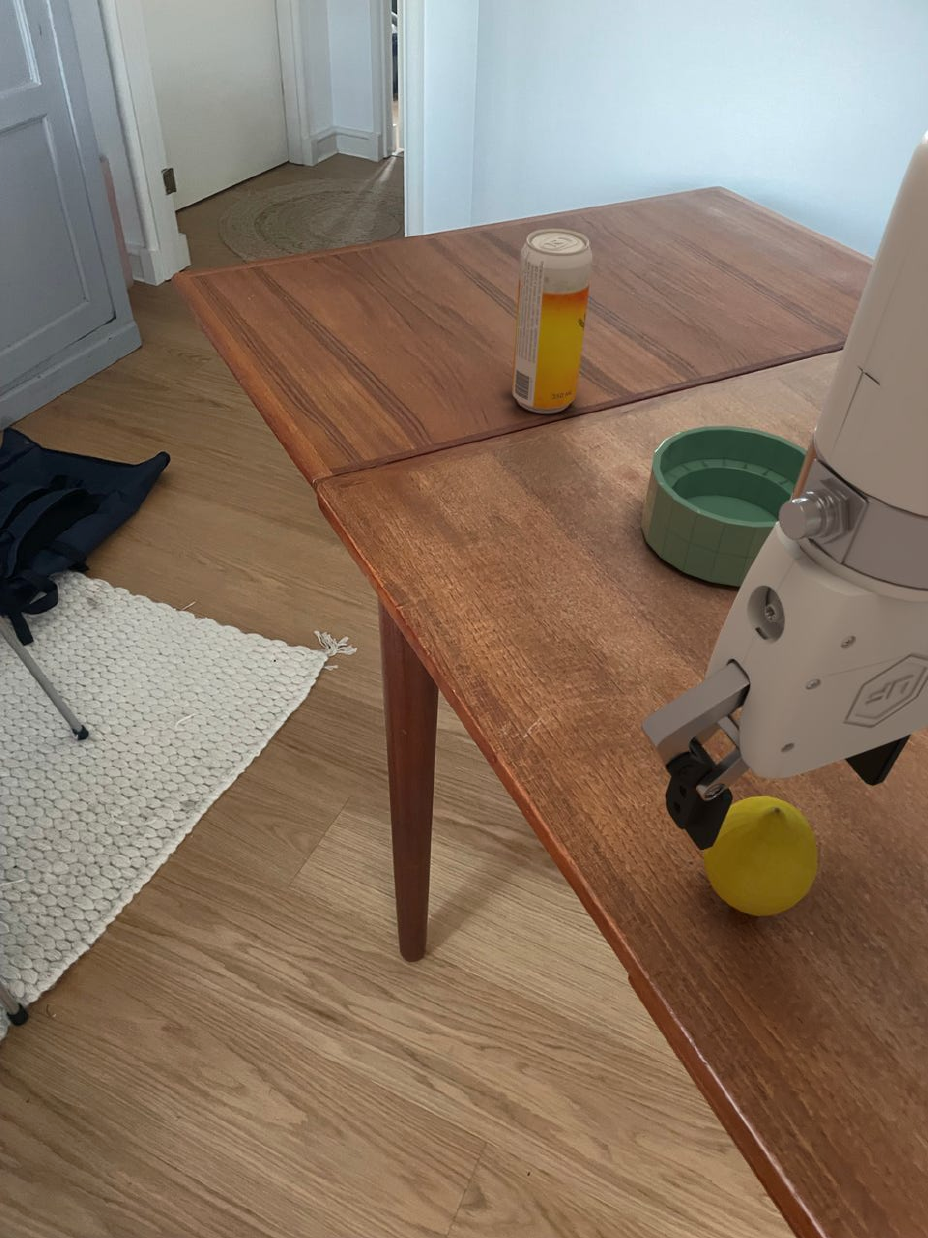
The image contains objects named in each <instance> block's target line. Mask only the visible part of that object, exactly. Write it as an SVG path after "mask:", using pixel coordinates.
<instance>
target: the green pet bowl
mask: <svg viewBox="0 0 928 1238" xmlns="http://www.w3.org/2000/svg"><path fill="white" fill-rule="evenodd" d="M806 452H807V449H806V448H804V447H802V446H801V445H799V444H796V443H795V442H792V441H790V440H788V439H787V438H785V437H782V436H779V435H776V434H774V433H771V432H767V431H763V430H760V429H755V428H748V427H742V426H735V425H704V426H700V427H694V428H690V429H687V430H682V431H680V432H678V433H675V434H674V435H672V436H669V437H668V438H666V439H664V440H663V441H662V443H661V444H660V445H659V446H658V448H657V449H656V450H654V452H653V456H652V462H651V466H650V472H649V477H648V481H647V486H646V487H647V488H646V493H645V498H644V504H643V509H642V514H641V520H640V521H641V522H640V527H641V531H642V533H643V535H644V539H645V541H646V543H647V544H648V545H649V547H651V549H652V550H653V551H654V552H655V553H656V555H658V557H660V558H661V560H664V561H665V562H667V563H668V564H670V565H672V566H673V567H674V568H676V569H678V570H679V571H681V572H683V573H685V574H687V575H689V576H692V577H696V578H698V579H701V580H703V581H706V582H710V583H715V584H720V585H727V586H732V587H733V586H734V587H739V588H741V586H742V584H743V582H744V580H745V578H746V576H747V574H748V572H749V570H750V568H751V566H752V564H753V563H754V561H755V559H756V557H757V555H758V554H759V552H760V550H761V548H762V546H763V545H764V543H765V541H766V540H767V538H768V536H769V535H770V533H771V531H772V530H773V528H774V526H775V525H776V523H777V522H778V521H779V510H780V508H781V506H782V505H783V504H784V503H785V502H787V501H790V498H791V495H792V493H793V489H794V487H795V484H796V481H797V478H798V475H799V472H800V469H801V467H802V464H803V461H804V458H805V455H806Z"/></svg>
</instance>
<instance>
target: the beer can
mask: <svg viewBox="0 0 928 1238" xmlns="http://www.w3.org/2000/svg"><path fill="white" fill-rule="evenodd" d="M593 257H594V255H593V252H592V249H591V246H590V240H589V238H588V237H587V236H585V235H584V234H582V233H580V232H577V231H574V230H570V229H563V228H545V229H539V230H535V231H533V232H531V233H529V234H528V236H527V237H526V241H525V243H524V245H523V246H522V248H521V250H520V261H519V273H518V275H519V276H518V289H517V290H518V291H517V292H518V293H517V304H516V306H517V307H516V320H515V337H514V351H513V364H512V365H513V367H512V368H513V369H512V382H511V393H512V396H513V398H514V399H515V400H516V401H517V403H518V405H519V406H521V408H522V409H525V410H527V411H530V412H532V413H538V414H556V413H560V412H562V411H564V410H565V409H567V408H568V407H569V406H570V404H571V403H573V402H574V401H575V399H577V398H576V397H577V393H578V384H579V376H580V375H579V374H580V367H581V361H582V360H581V359H582V351H583V350H582V349H583V341H584V333H585V326H586V325H585V324H586V316H587V308H588V301H589V300H588V299H589V292H590V283H591V275H592V274H591V273H592V266H593Z"/></svg>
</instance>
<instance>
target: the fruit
mask: <svg viewBox="0 0 928 1238" xmlns="http://www.w3.org/2000/svg"><path fill="white" fill-rule="evenodd" d="M816 840H817V839H816V835H815V833H814V831H813V829H812V827H811V825H810V823H809V821H808V819H807V817H806V816H804V814H803V813H802V812H801V811H800V810H799V809H798V808H797V807H795V806H793V804H791V803H790V802H787V801H785V800H782V799H781V798H778V797H774V796H769V795H755V796H749V797H746V798H743V799H740V800H737V801H736V802H734V803H731V805H730V808H729V810H728V812H727V815H726V817H725V820H724V822H723V825H722V827H721V829H720V832H719V834H718V837H717V839H716V842H715V843H714V845H713V847H710V848H708V849H705V850H703V853H702V855H703V869H704V871H705V874H706V876H707V878H708V881H709V884H710V885H711V887H712V888H713V890H714V891H715V892H716V894H717V895H718V896H719V897H720V898H721V899H722V901H724V902H725V903H726V904H727V905H728V906H729V907H731V908H734V909H735V910H738V911H739V912H741V913H744V914H748V915H752V916H755V917H756V916H758V917H759V916H774V915H778V914H781V913H783V912H785V911H788V910H790V909H792V908H793V907H795V906H796V905H797V904H798V903H799V902H800V901H801V900H802V899H803V898H804V897H805V896H806V895H807V894H809V892H810V890H811V887H812V885H813V883H814V881H815V878H816V876H817V873H818V848H817V841H816Z"/></svg>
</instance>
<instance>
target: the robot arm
mask: <svg viewBox="0 0 928 1238" xmlns="http://www.w3.org/2000/svg"><path fill="white" fill-rule="evenodd" d="M882 234H883V235H882V236H881V239H880V243H879V244H878V248H877V251H876V254H875V257H874V260H873V262H872V266H871V269H870V270H869V273H868V276H867V280H866V283H865V286H864V289H863V291H862V294H861V297H860V300H859V302H858V306H857V309H856V311H855V314H854V317H853V320H852V322H851V326H850V329H849V331H848V335H847V337H846V339H845V342H844V345H843V348H842V350H841V351H842V352H841V354H840V356H839V359H838V362H837V365H836V368H835V371H834V373H833V376H832V379H831V382H830V384H829V386H828V391H827V393H826V396H825V398H824V401H823V404H822V408H821V411H820V413H819V415H818V419H817V423H816V426H815V428H814V429H813V433H812V436H811V438H810V441H809V444H808V447H807V449H806V450H807V452H806V455H805V458H804V461H803V464H802V467H801V469H800V472H799V475H798V478H797V481H796V484H795V487H794V489H793V493H792V495H791V498H790V501H787V502H785V503H784V504H783V505H782V506H781V508H780V510H779V521H778V522H777V523H776V525H775V526H774V528H773V530H772V531H771V533H770V535H769V536H768V538H767V540H766V541H765V543H764V545H763V546H762V548H761V550H760V552H759V554H758V555H757V557H756V559H755V561H754V563H753V564H752V566H751V568H750V570H749V572H748V574H747V576H746V578H745V580H744V582H743V584H742V586H740V587H739V589H738V592H737V594H736V595H735V599H734V600H733V603H732V605H731V607H730V609H729V612H728V614H727V616H726V618H725V620H724V622H723V625H722V627H721V630H720V633H719V635H718V637H717V640H716V642H715V646H714V648H713V652H712V654H711V656H710V660H709V663H708V665H707V669H706V672H705V677H704V680H701V681H700V682H699V683H696V684H695V685H694V686H693V687H691V688H689V689H688V690H686V691H685V692H683V693H682V694H680V695H678V696H677V697H675V698H674V699H672V700H671V701H669V702H668V703H666V704H664V705H663V706H661V707H659V708H658V709H657V710H655V711H654V712H652V713H651V714H649V715H648V716H646V717H645V718H644V719H643V720H642V722H641V723H640V730H641V731H642V733H643V735H644V737H645V739H646V740H647V742H648V744H649V746H650V749H651V750H652V751H653V753H654V755H655V756H656V758H657V759H658V760H659V762H660V763H661V764H662V766H663V767H664V768H665V770H666V772H667V773H668V775H669V776H670V778H669V782H668V785H667V787H666V790H665V794H664V797H665V807H666V811H667V813H668V815H669V817H670V819H671V820H672V821H673V823H674V824H675V825H676V827H677V828H678V829H680V830H685V832H686V833H687V835H688V836H689V838H690V839H691V841H692V842H693V844H694V845H695V846H696V847H697V849H698V850H699V851H704V850H705V849H708V848H710V847H713V845H714V843H715V842H716V839H717V837H718V834H719V832H720V829H721V827H722V825H723V822H724V820H725V817H726V815H727V812H728V810H729V808H730V806H731V805H732V804H733V803H732V802H733V799H734V795H733V793H732V791H731V790H730V787H731V786H732V785H733V784H734V783H735V782H736V781H738V780H739V779H740V778H741V777H742V776H743V775H744V774H746V772H747V771H749V769H750V770H751V771H752V772H753V774H754V775H755V776H756V777H758V778H762V779H769V780H770V779H771V780H781V779H788V778H791V777H796V776H798V775H802V774H805V773H809V772H811V771H814V770H818V769H820V768H823V767H825V766H829V765H831V764H834V763H837V762H840V761H843V760H844V761H845V762H846V763H847V764H848V766H850V767H851V768H852V770H853V771H854V772H855V773H856V774H857V776H858V777H859V778H860V779H861V780H862V781H863V782H864V783H865V784H866V785H869V786H871V787H874V786H877V785H879V784H883V783H884V782H885V780H886V779H887V777H888V775H889V773H890V772H891V771H892V769H893V767H894V765H895V764H896V762H897V759H898V758H899V756H900V755H901V753H902V751H903V750H904V748H905V746H906V744H907V743H908V741H909V739H910V737H911V736H912V734H915V733H917V732H920V731H922V730H924V729H925V728H927V727H928V129H927V130H926V131H925V133H924V134H923V135H922V136H921V138H920V140H919V142H918V143H917V144H916V146H915V148H914V150H913V153H912V154H911V157H910V160H909V162H908V164H907V168H906V169H905V173H904V175H903V177H902V178H901V181H900V185H899V188H898V190H897V193H896V197H895V199H894V202H893V205H892V208H891V211H890V214H889V216H888V219H887V223H886V225H885V227H884V231H883V233H882ZM740 708H741V709H740ZM738 709H740V712H739V716H738V715H737V714H736V713H735V712H736V711H737V710H738ZM720 730H722V732H724V734H725V736H727V738H728V739H729V740H730V742H731V743H732V744H733V745H734V746H735V747H734V749H732V750H731V751H730V752H729V753H728V754H727V755H726V756H725V757H724V758H722V759H721V760H720V761H719V762H718V763H716V762H715V760H714V758H712V756H711V755H710V754H709V752H708V751H707V750H706V748H705V747H703V746H704V745H705V744H706V743H707V742H708V741H709V740H710V739H712V737H713V736H715V734H717V733H718V732H719V731H720Z"/></svg>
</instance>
